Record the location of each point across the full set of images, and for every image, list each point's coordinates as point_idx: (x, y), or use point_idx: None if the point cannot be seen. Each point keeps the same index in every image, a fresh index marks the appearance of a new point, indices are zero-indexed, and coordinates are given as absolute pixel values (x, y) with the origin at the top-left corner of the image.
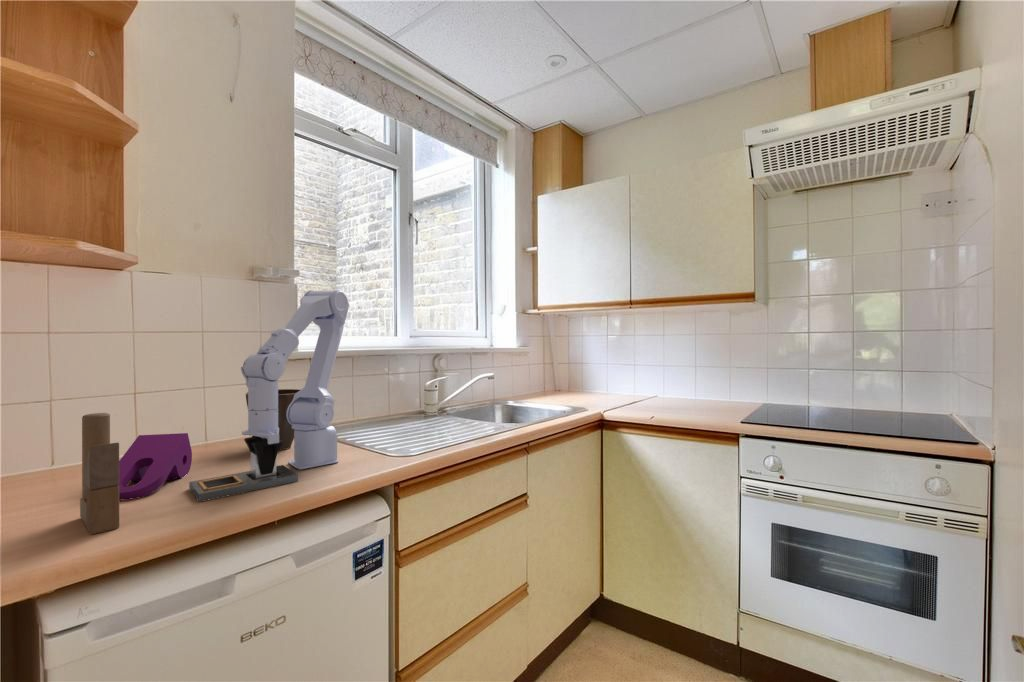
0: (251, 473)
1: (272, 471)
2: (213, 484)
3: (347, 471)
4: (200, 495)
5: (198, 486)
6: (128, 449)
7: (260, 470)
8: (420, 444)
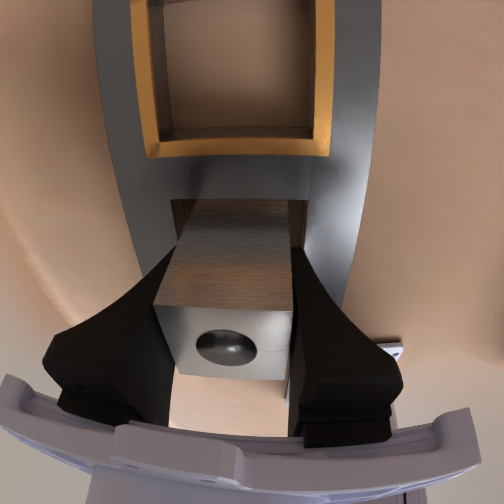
0: (269, 220)
1: None
2: (312, 44)
3: (192, 388)
4: None
5: None
6: None
7: (169, 254)
8: None
